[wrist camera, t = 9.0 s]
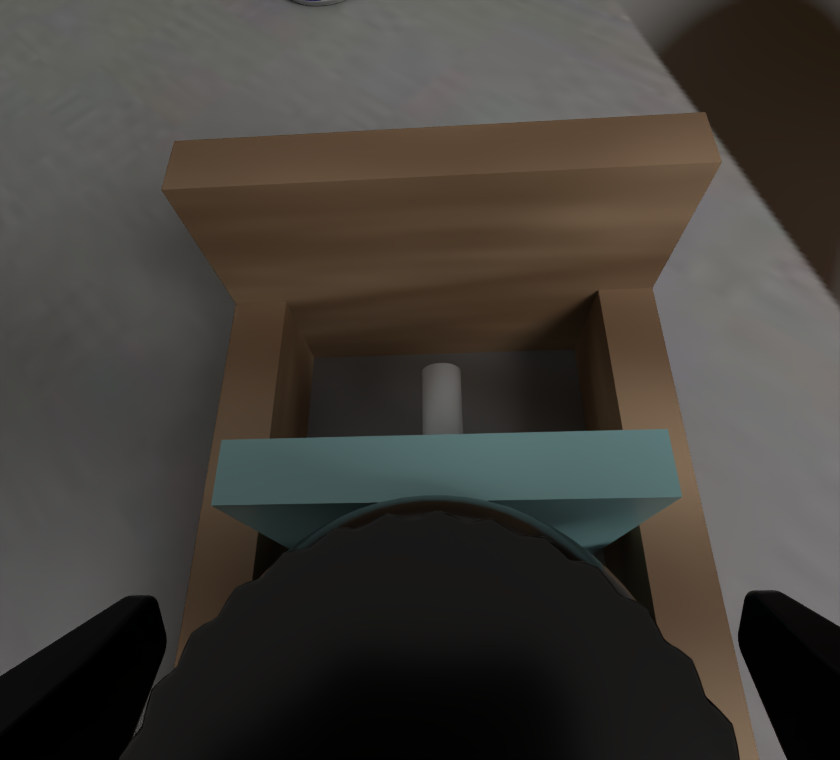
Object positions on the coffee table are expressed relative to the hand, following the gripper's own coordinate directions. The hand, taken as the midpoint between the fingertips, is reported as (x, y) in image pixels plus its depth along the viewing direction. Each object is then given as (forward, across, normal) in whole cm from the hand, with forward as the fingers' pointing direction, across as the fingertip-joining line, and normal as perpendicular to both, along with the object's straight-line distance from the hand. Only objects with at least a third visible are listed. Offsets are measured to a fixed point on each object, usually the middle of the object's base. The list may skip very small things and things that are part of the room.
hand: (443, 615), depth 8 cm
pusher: (+8, 0, +2) cm, 8 cm away
